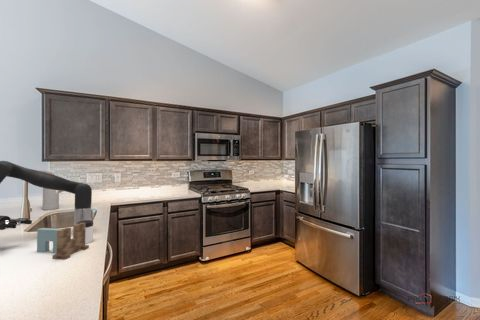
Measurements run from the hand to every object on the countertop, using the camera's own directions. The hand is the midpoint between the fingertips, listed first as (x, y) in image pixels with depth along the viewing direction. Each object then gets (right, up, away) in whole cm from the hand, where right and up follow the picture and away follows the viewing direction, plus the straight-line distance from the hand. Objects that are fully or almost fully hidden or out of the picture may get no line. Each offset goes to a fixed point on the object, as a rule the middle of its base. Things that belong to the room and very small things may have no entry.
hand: (23, 224), depth 130 cm
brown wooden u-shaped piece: (+28, -15, -3) cm, 32 cm away
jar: (+24, -15, +15) cm, 32 cm away
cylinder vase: (-68, -13, +105) cm, 125 cm away
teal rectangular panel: (+16, -14, -2) cm, 22 cm away
